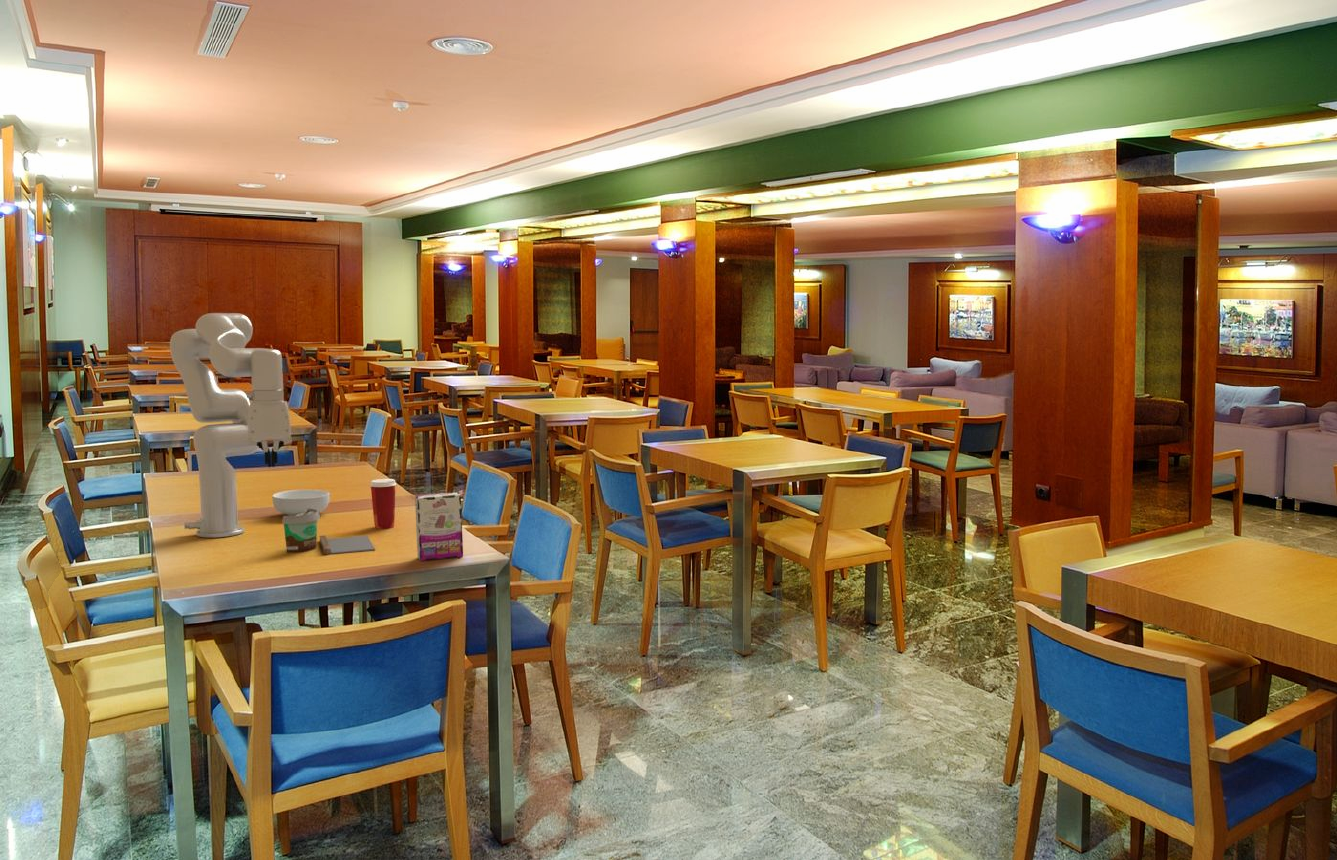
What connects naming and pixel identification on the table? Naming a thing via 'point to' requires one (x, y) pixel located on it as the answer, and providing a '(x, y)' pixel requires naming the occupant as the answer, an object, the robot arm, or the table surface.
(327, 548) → the rail
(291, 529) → the food container
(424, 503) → the candy bar box
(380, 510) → the paper cup
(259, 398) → the robot arm
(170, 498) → the table surface
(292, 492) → the cereal bowl
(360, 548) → the mat
